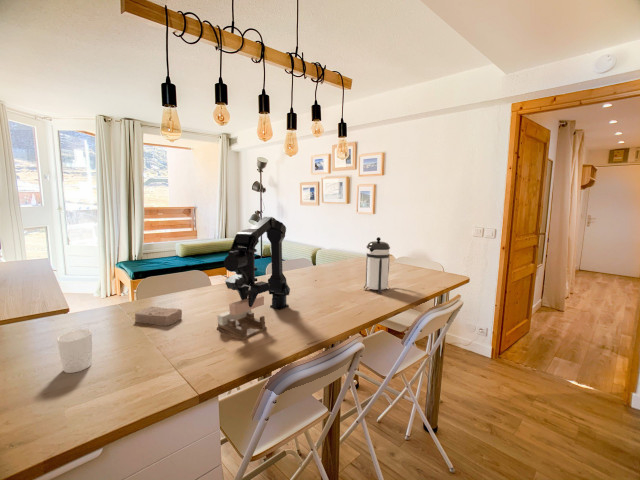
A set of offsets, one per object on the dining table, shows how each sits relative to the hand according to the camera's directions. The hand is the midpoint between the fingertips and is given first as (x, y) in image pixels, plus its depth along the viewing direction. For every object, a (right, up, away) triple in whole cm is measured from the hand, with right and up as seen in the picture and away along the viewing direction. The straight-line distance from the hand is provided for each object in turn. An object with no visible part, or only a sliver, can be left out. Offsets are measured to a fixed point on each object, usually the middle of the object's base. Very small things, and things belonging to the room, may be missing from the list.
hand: (247, 305), depth 115 cm
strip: (-6, -6, +5) cm, 10 cm away
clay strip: (0, -1, 0) cm, 1 cm away
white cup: (-45, -13, -24) cm, 53 cm away
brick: (-39, -9, +11) cm, 42 cm away
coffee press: (+60, -3, +59) cm, 84 cm away
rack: (-3, -10, +4) cm, 11 cm away
